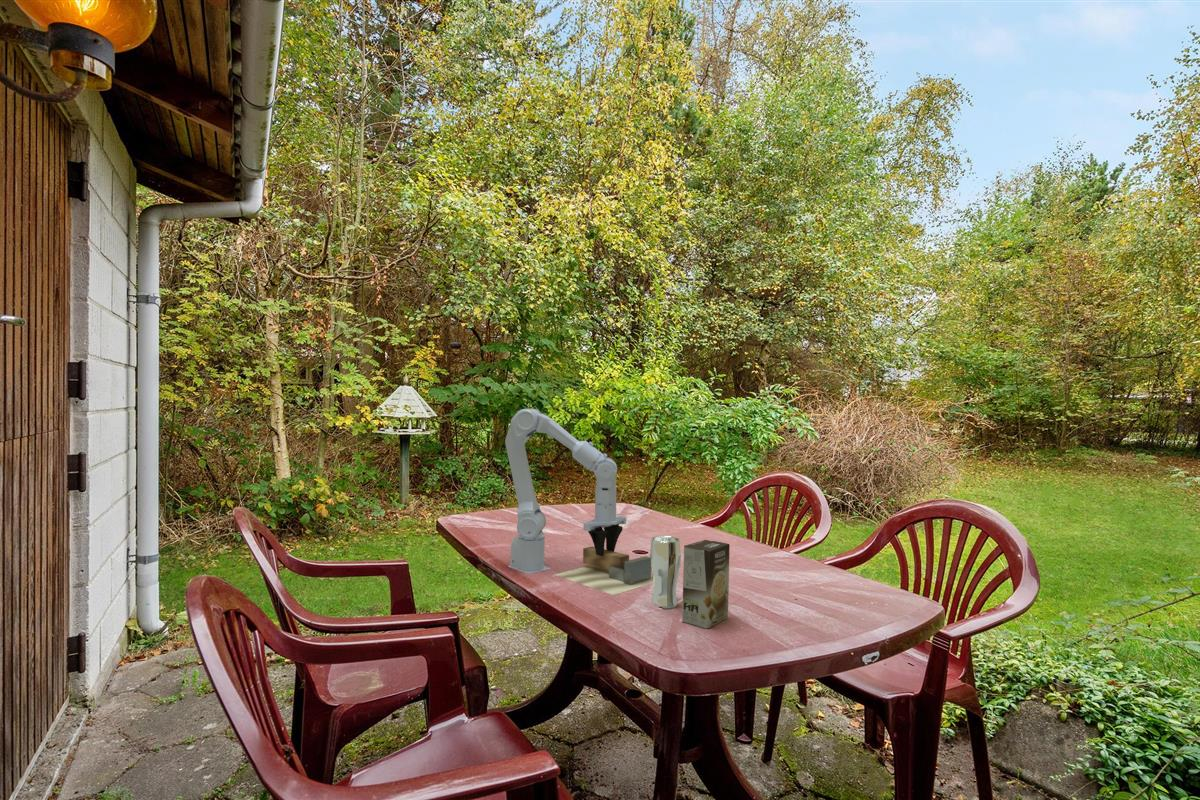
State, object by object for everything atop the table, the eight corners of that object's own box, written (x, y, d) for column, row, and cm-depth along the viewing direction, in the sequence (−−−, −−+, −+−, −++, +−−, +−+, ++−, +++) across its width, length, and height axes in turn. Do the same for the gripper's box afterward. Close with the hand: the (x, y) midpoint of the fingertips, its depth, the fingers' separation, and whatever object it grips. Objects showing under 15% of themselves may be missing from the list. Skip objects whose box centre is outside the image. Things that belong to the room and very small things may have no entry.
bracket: (607, 578, 151) (607, 556, 151) (628, 572, 157) (628, 551, 157) (630, 585, 145) (630, 563, 145) (650, 578, 151) (651, 557, 151)
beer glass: (644, 606, 132) (645, 540, 132) (656, 597, 138) (657, 534, 138) (673, 611, 129) (674, 543, 129) (684, 602, 135) (685, 537, 135)
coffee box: (708, 629, 119) (709, 551, 119) (681, 622, 123) (682, 545, 123) (729, 617, 126) (730, 543, 126) (702, 610, 130) (704, 538, 130)
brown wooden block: (583, 562, 161) (583, 548, 161) (592, 560, 163) (592, 546, 163) (619, 572, 151) (619, 557, 151) (629, 570, 153) (629, 555, 153)
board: (553, 576, 153) (553, 574, 153) (601, 564, 166) (602, 562, 166) (613, 597, 138) (613, 595, 138) (662, 582, 150) (662, 579, 150)
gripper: (596, 508, 150) (596, 561, 149) (634, 502, 160) (634, 552, 160) (578, 505, 155) (577, 556, 154) (616, 499, 165) (615, 547, 165)
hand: (605, 553), depth 157 cm, fingers closed on brown wooden block, 3 cm apart
